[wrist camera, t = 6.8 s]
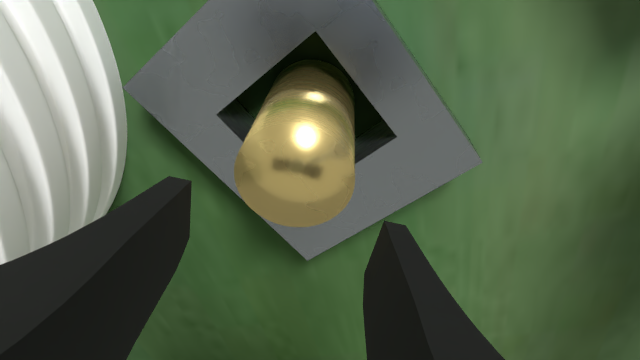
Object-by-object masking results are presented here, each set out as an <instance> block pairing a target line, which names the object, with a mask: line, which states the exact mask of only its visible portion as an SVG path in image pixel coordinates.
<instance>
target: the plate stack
mask: <svg viewBox="0 0 640 360" xmlns="http://www.w3.org/2000/svg"><path fill="white" fill-rule="evenodd" d="M126 151H127V119H126V109H125V101H124V95H123V89H122V84H121V80H120V76H119V71H118V68H117V64H116V61H115V57H114V54H113V51H112V48H111V45H110V42H109V39H108V36H107V34H106V31H105V28H104V26H103V23H102V21H101V18H100V16H99V14H98V11H97V9H96V7H95V5H94V2H93V0H0V265H1V264H4V263H6V262H9V261H12V260H14V259H16V258H19V257H21V256H24V255H26V254H28V253H30V252H33V251H35V250H37V249H40V248H42V247H44V246H46V245H49V244H51V243H53V242H55V241H57V240H59V239H61V238H63V237H65V236H67V235H69V234H71V233H73V232H75V231H77V230H79V229H81V228H82V227H84V226H86V225H88V224H90V223H92V222H94V221H95V220H97V219H99V218H101V217H103V216H105V215H106V213H107V212H108V210H109V208H110V206H111V205H112V203H113V201H114V199H115V196H116V194H117V191H118V189H119V186H120V183H121V179H122V176H123V171H124V166H125V160H126Z"/></svg>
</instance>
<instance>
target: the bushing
mask: <svg viewBox="0 0 640 360" xmlns="http://www.w3.org/2000/svg"><path fill="white" fill-rule="evenodd" d="M234 179H235V183H236V187H237V189H238V192H239V193H240V195H241V197H242V199H243V200H244V201H245V203H246V204H247V205H248V206H249V207H250V208H251V209H252V210H253V211H254V212H256V213H257V214H258V215H260V216H261V217H263V218H265V219H267V220H269V221H271V222H273V223H276V224H280V225H283V226H289V227H309V226H315V225H319V224H321V223H324V222H326V221H328V220H330V219H332V218H334V217H335V216H337V215H338V214H339V213H340V212H341V211H342V210H343V209H344V208H345V207H346V205H347V204H348V202H349V201H350V199H351V197H352V194H353V191H354V186H355V129H354V94H353V90H352V86H351V84H350V82H349V80H348V79H347V77H346V76H345V75H344V74H343V73H342V72H341V71H340V70H339V69H338V68H336V67H335V66H333V65H331V64H329V63H327V62H324V61H320V60H313V59H309V60H301V61H298V62H295V63H293V64H291V65H289V66H288V67H286V68H285V69H284V70H283V71H281V73H280V74H279V75H278V76H277V78H276V80H275V81H274V83H273V85H272V87H271V89H270V91H269V93H268V95H267V97H266V99H265V101H264V103H263V105H262V107H261V109H260V111H259V113H258V115H257V117H256V119H255V121H254V123H253V125H252V127H251V129H250V131H249V132H248V134H247V136H246V138H245V140H244V142H243V144H242V146H241V148H240V150H239V152H238V155H237V157H236V160H235V164H234Z"/></svg>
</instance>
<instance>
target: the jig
mask: <svg viewBox="0 0 640 360" xmlns="http://www.w3.org/2000/svg"><path fill="white" fill-rule="evenodd" d="M315 31H316V32H317V34H318V35H319V36H320V37H321V39H322V40H323V41H324V43H325V44H326V45H327V46H328V48H329V49H330V50H331V52H332V53H333V54H334V56H335V57H336V58H337V59H338V61H339V62H340V63H341V65H342V66H343V67H344V69H345V70H346V71H347V72H348V74H349V75H350V76H351V78H352V79H353V80H354V81H355V83H356V84H357V85H358V87H359V88H360V89H361V91H362V92H363V93H364V94H365V96H366V97H367V98H368V100H369V101H370V102H371V103H372V105H373V106H374V107H375V109H376V110H377V111H378V113H379V114H380V115H381V116H382V118H383V119H384V120H382V121H381V122H379V123H378V124H376V125H375V126H373V127H372V128H370V129H369V130H368V131H366V132H365V133H363V134H362V135H360V136H359V137H357V138H356V139H355V186H354V191H353V194H352V197H351V199H350V201H349V202H348V204H347V205H346V207H345V208H344V209H343V210H342V211H341V212H340V213H339V214H338V215H337V216H335V217H334V218H332V219H330V220H328V221H326V222H324V223H321V224H319V225H315V226H309V227H289V226H283V225H280V224H276V223H273V222H271V221H269V220H267V219H265V218H263V217H261V216H260V215H259V216H260V217H261V218H262V219H264V220H265V221H266V222H267V223H268V224H269V225H270V226H271V227H272V228H273V229H274V230H275V231H276V232H277V233H278V234H280V235H281V236H282V237H283V238H284V239H285V240H286V241H287V242H288V243H289V244H290V245H291V246H292V247H293V248H294V249H296V250H297V251H298V252H299V253H300V254H301V255H302V256H303V257H304V258H305V259H306V260H307V261H308V260H310V259H311V258H313V257H315V256H317V255H319V254H320V253H322V252H324V251H326V250H327V249H329V248H331V247H333V246H335V245H336V244H338V243H340V242H342V241H343V240H345V239H347V238H349V237H351V236H352V235H354V234H356V233H358V232H359V231H361V230H363V229H365V228H367V227H368V226H370V225H372V224H374V223H376V222H377V221H379V220H381V219H383V218H384V217H386V216H388V215H390V214H392V213H393V212H395V211H397V210H399V209H400V208H402V207H404V206H406V205H408V204H409V203H411V202H413V201H415V200H416V199H418V198H420V197H422V196H424V195H425V194H427V193H429V192H431V191H433V190H434V189H436V188H438V187H440V186H441V185H443V184H445V183H447V182H449V181H450V180H452V179H454V178H456V177H457V176H459V175H461V174H463V173H465V172H466V171H468V170H470V169H472V168H473V167H475V166H477V165H479V164H481V163H482V160H481V159H480V157H479V155H478V153H477V152H476V150H475V148H474V146H473V144H472V143H471V141H470V139H469V137H468V136H467V134H466V133H465V131H464V130H463V128H462V127H461V126H460V124H459V123H458V121H457V120H456V118H455V117H454V115H453V114H452V112H451V111H450V109H449V108H448V106H447V105H446V103H445V102H444V100H443V99H442V97H441V96H440V95H439V93H438V92H437V90H436V89H435V87H434V86H433V84H432V83H431V81H430V80H429V78H428V77H427V75H426V74H425V72H424V71H423V69H422V68H421V66H420V65H419V63H418V62H417V61H416V59H415V58H414V56H413V55H412V53H411V52H410V50H409V49H408V47H407V46H406V44H405V43H404V41H403V40H402V38H401V37H400V35H399V34H398V32H397V31H396V30H395V28H394V27H393V25H392V24H391V22H390V21H389V19H388V18H387V16H386V15H385V13H384V12H383V10H382V9H381V7H380V6H379V4H378V3H377V1H376V0H208V1H207V2H206V3H205V4H204V5H203V6H202V7H201V8H200V10H199V11H198V12H197V13H196V14H195V15H194V16H193V17H192V18H191V19H190V20H189V21H188V22H187V23H186V24H185V25H184V26H183V27H182V28H181V29H180V30H179V31H178V32H177V33H176V34H175V35H174V36H173V37H172V38H171V39H170V40H169V41H168V42H167V43H166V44H165V45H164V46H163V47H162V48H161V49H160V50H159V51H158V52H157V53H156V54H155V55H154V56H153V57H152V58H151V59H150V60H149V61H148V62H147V63H146V64H145V65H144V66H143V67H142V68H141V69H140V70H139V71H138V72H137V74H136V75H135V76H134V77H133V78H132V79H131V80H130V81H129V82H128V83H127V84H126V85H125V86H124V87H123V88H124V89H125V90H126V91H127V92H128V93H129V94H130V95H131V96H132V97H133V98H134V99H135V100H136V101H138V102H139V103H140V104H141V105H142V106H143V107H144V108H145V109H146V110H147V111H148V112H149V113H150V114H151V115H152V116H154V117H155V118H156V119H157V120H158V121H159V122H160V123H161V124H162V125H163V126H164V127H165V128H166V129H167V130H168V131H170V132H171V133H172V134H173V135H174V136H175V137H176V138H177V139H178V140H179V141H180V142H181V143H182V144H183V145H185V146H186V147H187V148H188V149H189V150H190V151H191V152H192V153H193V154H194V155H195V156H196V157H197V158H198V159H199V160H201V161H202V162H203V163H204V164H205V165H206V166H207V167H208V168H209V169H210V170H211V171H212V172H213V173H214V174H215V175H217V176H218V177H219V178H220V179H221V180H222V181H223V182H224V183H225V184H226V185H227V186H228V187H229V188H230V189H231V190H233V191H234V192H235V193H236V194H237V195H238V196H239V197H240V198H241V199H242V197H241V195H240V193H239V192H238V189H237V187H236V183H235V179H234V164H235V160H236V157H237V155H238V152H239V150H240V148H241V146H242V144H243V142H244V140H245V138H246V136H247V134H248V132H249V131H250V129H251V127H252V125H253V123H254V121H255V119H254V118H253V117H252V116H251V115H250V114H249V113H248V112H247V111H246V110H245V108H244V107H243V106H242V105H241V104H240V103H239V102H238V101H237V100H236V99H235V98H236V97H238V96H239V95H240V94H241V93H242V92H244V91H245V90H246V89H247V88H248V87H249V86H251V85H252V84H253V83H254V82H255V81H257V80H258V79H259V78H260V77H261V76H263V75H264V74H265V73H266V72H267V71H268V70H270V69H271V68H272V67H273V66H274V65H276V64H277V63H278V62H279V61H280V60H282V59H283V58H284V57H285V56H286V55H287V54H289V53H290V52H291V51H292V50H293V49H295V48H296V47H297V46H298V45H299V44H301V43H302V42H303V41H304V40H305V39H306V38H308V37H309V36H310V35H311V34H312V33H314V32H315ZM242 200H243V199H242ZM243 201H244V200H243ZM244 202H245V201H244Z"/></svg>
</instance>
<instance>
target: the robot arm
mask: <svg viewBox="0 0 640 360" xmlns="http://www.w3.org/2000/svg"><path fill="white" fill-rule="evenodd" d="M190 207H191V181H189V180H185V179H180V178H175V177H170V176H169V177H167V178H165V179H164V180H162V181H160V182H159V183H157V184H155V185H154V186H152V187H151V188H149V189H147V190H146V191H144V192H143V193H141V194H139V195H138V196H136V197H135V198H133V199H131V200H130V201H128V202H126V203H125V204H123V205H121V206H120V207H118V208H116V209H115V210H113V211H111V212H110V213H108V214H106V215H105V216H103V217H101V218H99V219H97V220H95V221H94V222H92V223H90V224H88V225H86V226H84V227H82V228H81V229H79V230H77V231H75V232H73V233H71V234H69V235H67V236H65V237H63V238H61V239H59V240H57V241H55V242H53V243H51V244H49V245H46V246H44V247H42V248H40V249H37V250H35V251H33V252H30V253H28V254H26V255H24V256H21V257H19V258H16V259H14V260H12V261H9V262H6V263H4V264H1V265H0V360H126V359H127V357H128V355H129V353H130V351H131V349H132V347H133V345H134V344H135V342H136V340H137V338H138V336H139V335H140V333H141V331H142V329H143V328H144V326H145V324H146V322H147V321H148V319H149V317H150V315H151V313H152V312H153V310H154V308H155V307H156V305H157V303H158V301H159V300H160V298H161V296H162V294H163V292H164V291H165V289H166V287H167V285H168V284H169V282H170V280H171V278H172V276H173V275H174V273H175V271H176V269H177V267H178V264H179V262H180V260H181V257H182V255H183V252H184V250H185V247H186V245H187V242H188V240H189V235H190ZM363 312H364V326H365V339H366V351H367V360H505V359H504V358H503V357H502V356H501V355H500V354H499V353H498V352H497V351H496V350H495V348H494V347H493V346H492V345H491V344H490V343H489V342H488V340H487V339H486V338H485V337H484V336H483V335H482V334H481V332H480V331H479V330H478V329H477V328H476V327H475V325H474V324H473V323H472V322H471V320H470V319H469V318H468V317H467V315H466V314H465V313H464V311H463V310H462V309H461V308H460V306H459V305H458V304H457V302H456V301H455V300H454V298H453V297H452V296H451V294H450V293H449V291H448V290H447V289H446V287H445V286H444V284H443V283H442V282H441V280H440V279H439V277H438V276H437V274H436V273H435V271H434V270H433V268H432V267H431V265H430V264H429V262H428V260H427V259H426V257H425V256H424V254H423V252H422V251H421V249H420V248H419V246H418V244H417V243H416V241H415V240H414V238H413V236H412V235H411V233H410V232H409V230H408V228H407V227H406V225H401V224H396V223H392V222H387V221H384V223H383V225H382V228H381V231H380V233H379V236H378V239H377V241H376V244H375V247H374V249H373V252H372V254H371V257H370V260H369V262H368V265H367V268H366V270H365V274H364V294H363Z"/></svg>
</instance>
